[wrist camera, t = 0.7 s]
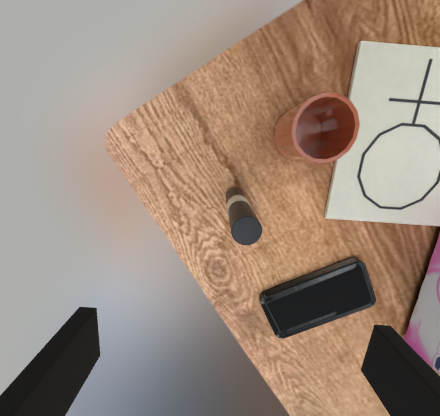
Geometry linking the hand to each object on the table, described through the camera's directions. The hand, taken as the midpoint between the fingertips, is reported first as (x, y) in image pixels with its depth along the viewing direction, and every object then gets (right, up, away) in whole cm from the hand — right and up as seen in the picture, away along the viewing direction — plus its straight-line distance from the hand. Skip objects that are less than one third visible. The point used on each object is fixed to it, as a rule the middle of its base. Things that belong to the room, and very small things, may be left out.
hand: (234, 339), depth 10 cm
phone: (+13, -7, +22) cm, 26 cm away
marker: (+1, +8, +18) cm, 19 cm away
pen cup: (+9, +15, +16) cm, 24 cm away
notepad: (+22, +14, +16) cm, 31 cm away
